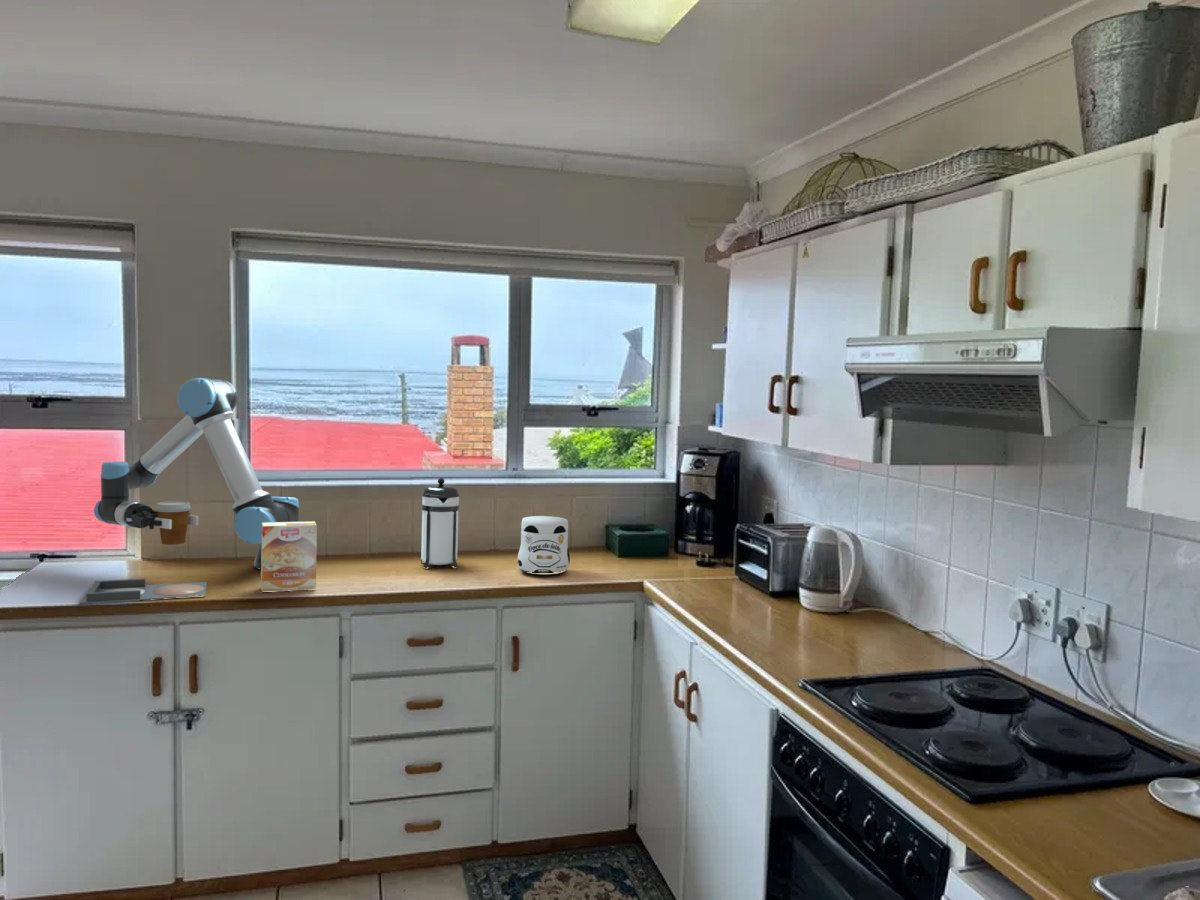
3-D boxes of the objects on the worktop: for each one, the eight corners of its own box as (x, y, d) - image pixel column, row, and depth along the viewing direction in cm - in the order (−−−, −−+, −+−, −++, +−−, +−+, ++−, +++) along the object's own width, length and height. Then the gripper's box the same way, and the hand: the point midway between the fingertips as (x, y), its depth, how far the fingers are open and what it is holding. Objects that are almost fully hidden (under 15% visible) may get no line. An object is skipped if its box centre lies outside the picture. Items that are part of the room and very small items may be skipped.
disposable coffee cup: (176, 546, 248) (176, 506, 247) (147, 544, 250) (147, 504, 249) (198, 541, 257) (198, 502, 256) (170, 539, 259) (170, 500, 258)
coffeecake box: (261, 593, 242) (262, 525, 241) (260, 588, 248) (261, 521, 247) (316, 590, 248) (317, 524, 247) (314, 585, 255) (315, 520, 253)
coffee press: (472, 565, 291) (474, 478, 289) (440, 572, 277) (442, 481, 275) (435, 558, 300) (437, 473, 298) (402, 565, 287) (403, 476, 285)
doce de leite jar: (538, 580, 271) (540, 525, 269) (506, 571, 284) (508, 517, 282) (579, 574, 282) (581, 521, 281) (547, 565, 295) (549, 514, 294)
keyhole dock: (206, 583, 251) (206, 575, 251) (205, 597, 235) (205, 588, 235) (89, 590, 239) (89, 580, 239) (79, 604, 223) (79, 594, 223)
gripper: (166, 523, 271) (214, 530, 260) (101, 531, 252) (151, 540, 242) (166, 499, 270) (214, 506, 260) (101, 506, 251) (151, 513, 241)
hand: (184, 522), depth 251 cm, fingers closed on disposable coffee cup, 8 cm apart
